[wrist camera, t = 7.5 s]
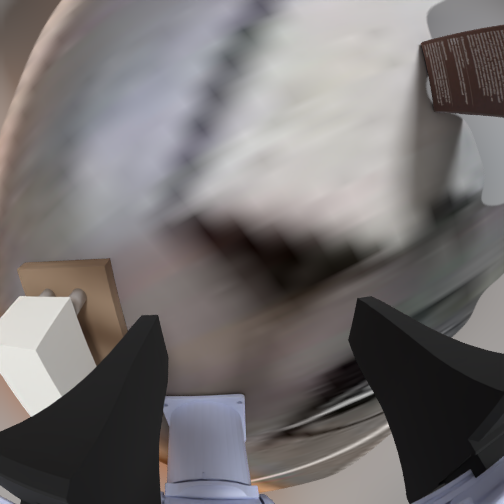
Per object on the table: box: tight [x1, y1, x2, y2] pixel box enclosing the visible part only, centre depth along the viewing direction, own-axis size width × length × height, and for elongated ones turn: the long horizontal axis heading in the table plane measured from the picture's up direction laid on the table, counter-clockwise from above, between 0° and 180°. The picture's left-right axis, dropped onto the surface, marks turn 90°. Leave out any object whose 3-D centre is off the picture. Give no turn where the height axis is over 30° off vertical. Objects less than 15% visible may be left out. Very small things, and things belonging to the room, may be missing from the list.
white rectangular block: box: [0, 296, 96, 417], centre depth 14 cm, size 10×4×5 cm, turn 0°
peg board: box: [17, 258, 128, 366], centre depth 18 cm, size 12×8×4 cm, turn 0°
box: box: [421, 25, 504, 118], centre depth 10 cm, size 6×4×12 cm
